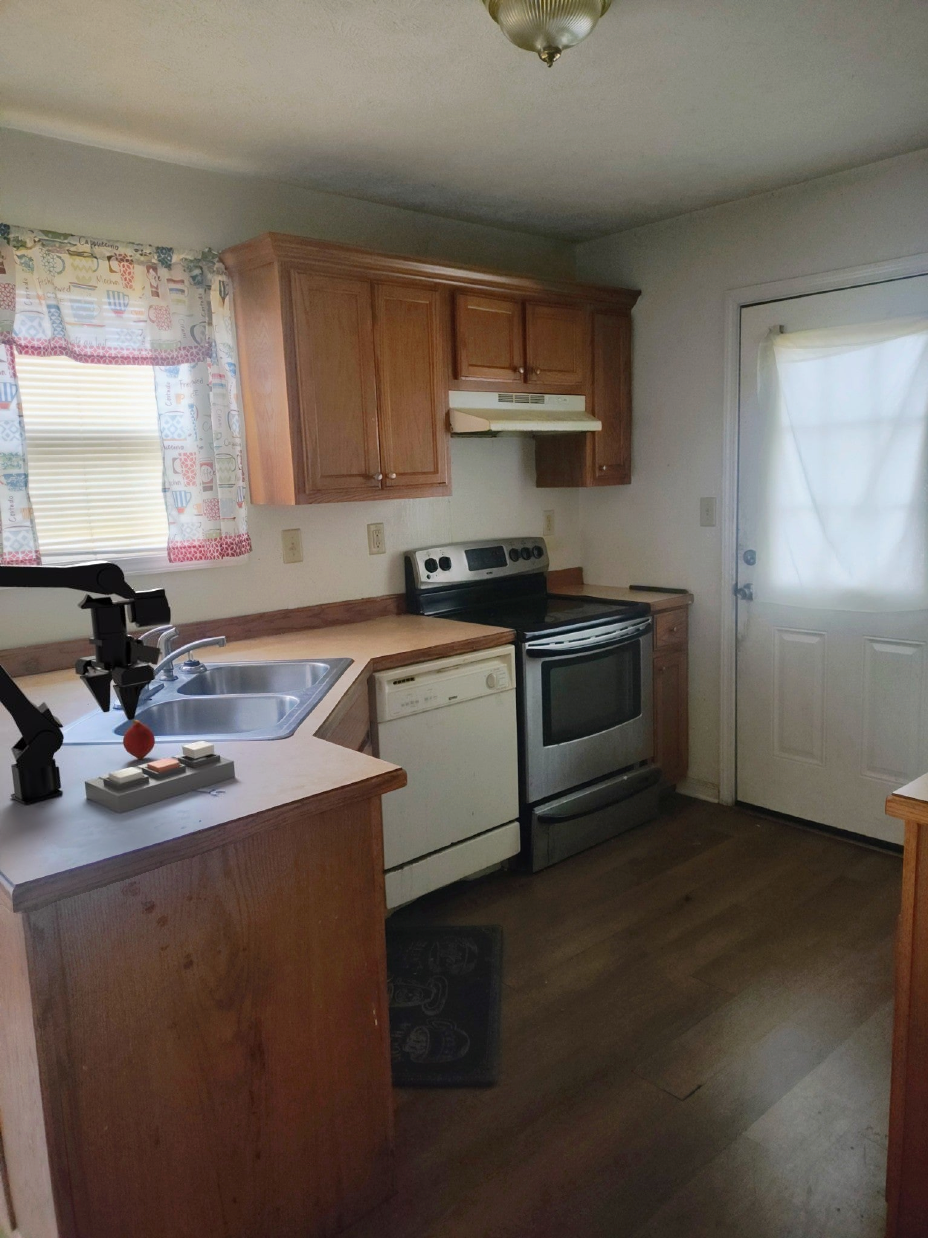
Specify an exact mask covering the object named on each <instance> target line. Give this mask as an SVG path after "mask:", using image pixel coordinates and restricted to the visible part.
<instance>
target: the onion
mask: <svg viewBox="0 0 928 1238" xmlns="http://www.w3.org/2000/svg"><path fill="white" fill-rule="evenodd" d="M132 723H133V724H132V725H131V726H130V727H129V728H128V729H127V730H126V731H125V734H124V735H123V738H122V744H123V747H124V749H125V751H126V752H127V753H128V754H129V755H131V756H133V757H134V758H136V759H137V760H143V759H144V758H145V757H146V756H147V755H149V754H150V753H151V751H152V750H153V749H154V747H155V743H156V739H155V735H154V732H153V731H152V730H151V728H150V727H149V726H147V725H146V724H144V723H142V722H141V721H140V720H138V719H135V720H134V719H133V721H132Z"/></svg>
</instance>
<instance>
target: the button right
mask: <svg viewBox="0 0 928 1238" xmlns="http://www.w3.org/2000/svg"><path fill="white" fill-rule="evenodd" d="M181 747H182V753H183V755H186V756H189V757H192V758H199V757H202V756H206V755H209V754H213V753H214V754H215V745H214V743H210V742H208V741H203V740H199V741H196V742H193V743H189V744H185V745H182V746H181Z"/></svg>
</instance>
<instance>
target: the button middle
mask: <svg viewBox="0 0 928 1238" xmlns="http://www.w3.org/2000/svg"><path fill="white" fill-rule="evenodd" d="M150 762H151V763H150ZM150 762H147V763H146V764H147V768H148V769H150V770H153V771H156V772H158V773H159V772H162V771H165V770H169V769H172V768H176V767H179V766H180V762H179V761H176V760H173V759H170V758H169V757H166V758H162V759H158V760H154V761H150Z"/></svg>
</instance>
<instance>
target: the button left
mask: <svg viewBox="0 0 928 1238" xmlns="http://www.w3.org/2000/svg"><path fill="white" fill-rule="evenodd" d="M108 774H109V780H112V781H114V782H116V783H119V784H121V783H124V782H128V781H131V780H135V779H138V778H141V777H143V773H142V771H140V770H137V769H135V768H134V767H132V766H129V767H125V768H122V769H118V770H115V771H111V772H108Z"/></svg>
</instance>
